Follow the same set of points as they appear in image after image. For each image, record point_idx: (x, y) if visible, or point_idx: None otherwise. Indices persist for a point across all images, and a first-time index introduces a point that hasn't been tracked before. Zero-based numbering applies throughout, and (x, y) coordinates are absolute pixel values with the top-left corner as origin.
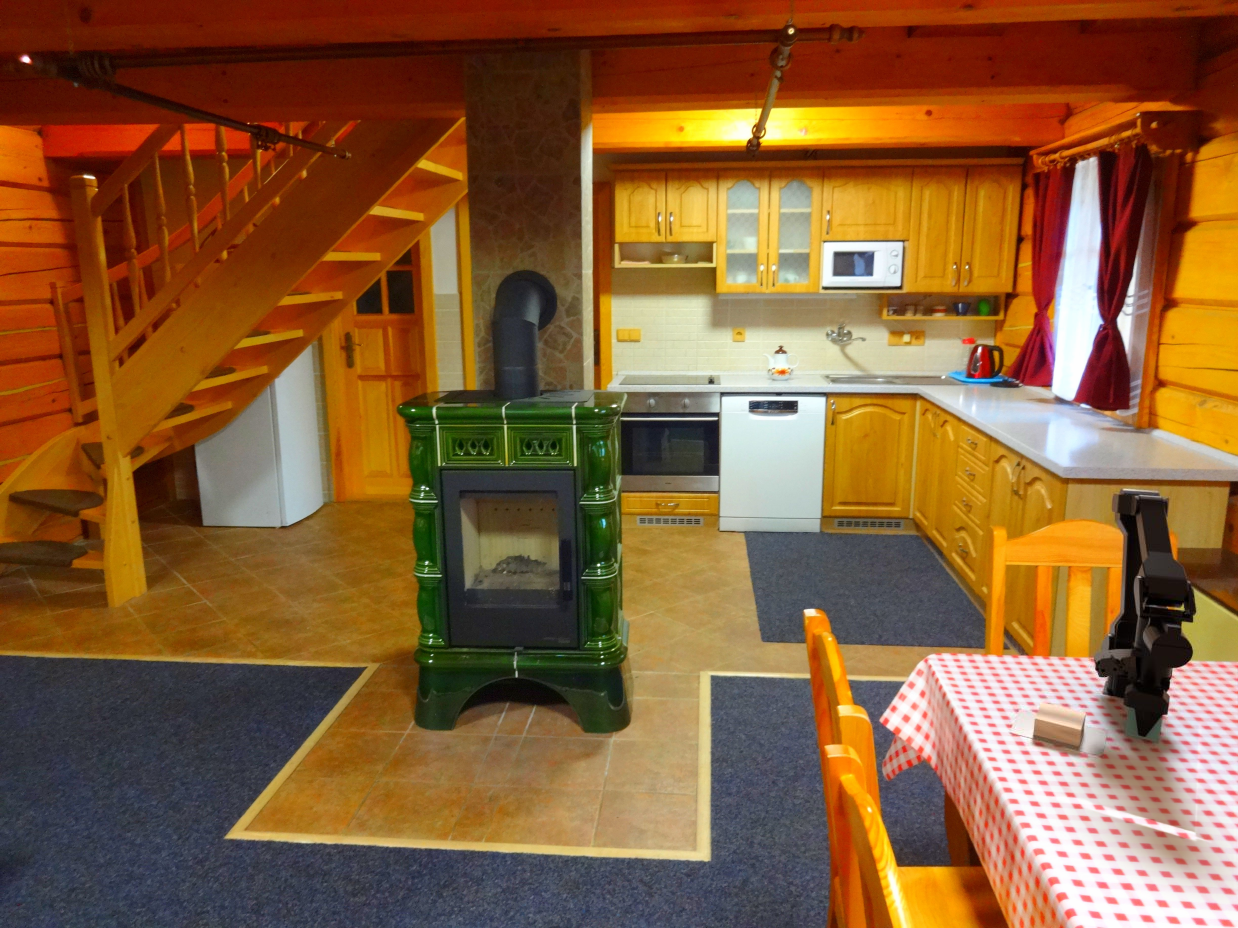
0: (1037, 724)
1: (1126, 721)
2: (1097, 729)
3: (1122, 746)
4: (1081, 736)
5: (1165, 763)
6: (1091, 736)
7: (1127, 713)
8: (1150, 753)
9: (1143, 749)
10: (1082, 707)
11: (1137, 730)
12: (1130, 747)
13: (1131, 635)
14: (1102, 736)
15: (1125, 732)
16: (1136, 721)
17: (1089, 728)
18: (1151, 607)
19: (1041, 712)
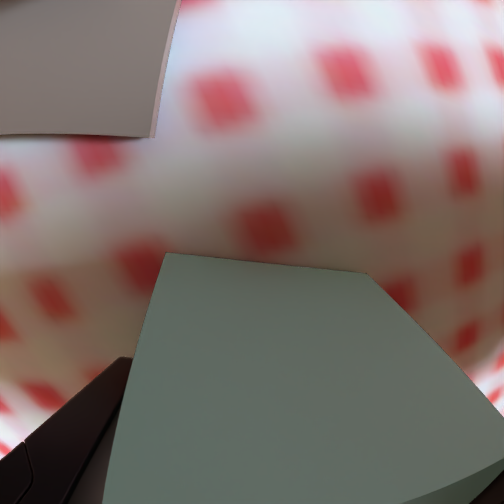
0: None
1: (144, 323)
2: (140, 61)
3: (40, 235)
4: None
5: (19, 397)
6: (14, 43)
7: (125, 394)
8: (58, 363)
9: (77, 341)
10: (489, 58)
11: (103, 372)
12: (55, 279)
13: None
14: (37, 107)
15: (161, 271)
16: (42, 424)
17: (132, 8)
18: None
19: None
